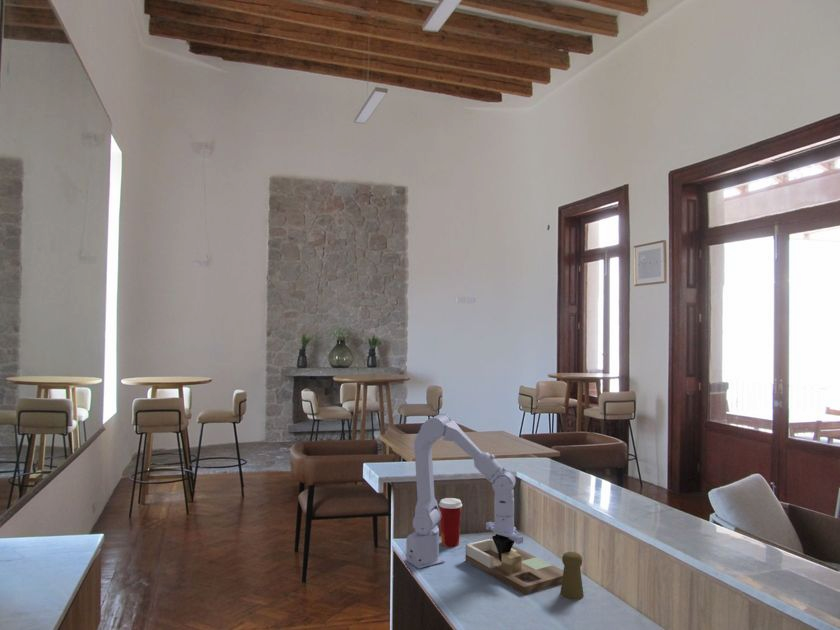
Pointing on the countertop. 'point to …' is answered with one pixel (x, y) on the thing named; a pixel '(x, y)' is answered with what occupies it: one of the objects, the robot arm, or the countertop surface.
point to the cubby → (482, 551)
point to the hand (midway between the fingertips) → (503, 561)
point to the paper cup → (450, 521)
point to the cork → (572, 576)
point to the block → (511, 561)
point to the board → (521, 573)
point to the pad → (536, 563)
